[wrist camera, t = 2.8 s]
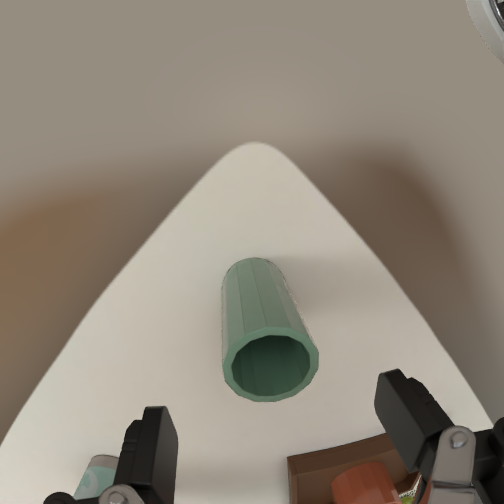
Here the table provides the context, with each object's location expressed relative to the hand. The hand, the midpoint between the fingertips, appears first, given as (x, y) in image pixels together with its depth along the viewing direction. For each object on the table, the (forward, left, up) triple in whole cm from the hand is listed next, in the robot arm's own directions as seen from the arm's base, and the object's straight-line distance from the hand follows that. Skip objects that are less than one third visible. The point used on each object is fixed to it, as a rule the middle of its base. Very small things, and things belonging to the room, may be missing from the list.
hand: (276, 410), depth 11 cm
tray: (-10, +27, -12) cm, 31 cm away
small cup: (0, 0, -12) cm, 12 cm away
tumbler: (-10, +28, -12) cm, 32 cm away
